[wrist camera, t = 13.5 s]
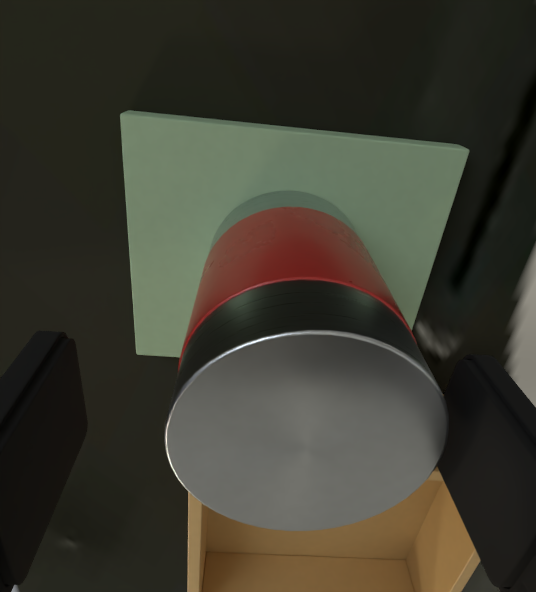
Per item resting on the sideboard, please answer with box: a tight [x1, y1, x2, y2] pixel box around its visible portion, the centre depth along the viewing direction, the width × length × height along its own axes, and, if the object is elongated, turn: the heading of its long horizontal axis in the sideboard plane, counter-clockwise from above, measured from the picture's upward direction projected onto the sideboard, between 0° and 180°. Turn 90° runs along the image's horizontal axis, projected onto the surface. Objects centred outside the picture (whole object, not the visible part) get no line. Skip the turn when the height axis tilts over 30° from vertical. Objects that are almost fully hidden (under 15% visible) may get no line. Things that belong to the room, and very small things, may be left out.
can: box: [164, 191, 449, 531], centre depth 13 cm, size 6×6×9 cm
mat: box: [120, 110, 469, 357], centre depth 17 cm, size 12×10×1 cm
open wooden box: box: [188, 394, 481, 592], centre depth 23 cm, size 14×14×5 cm
